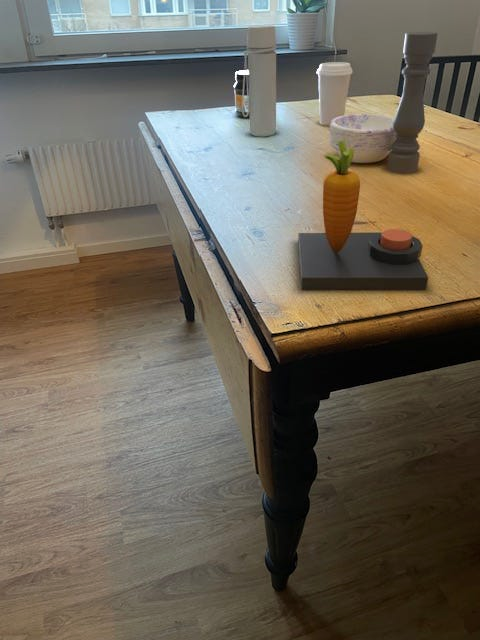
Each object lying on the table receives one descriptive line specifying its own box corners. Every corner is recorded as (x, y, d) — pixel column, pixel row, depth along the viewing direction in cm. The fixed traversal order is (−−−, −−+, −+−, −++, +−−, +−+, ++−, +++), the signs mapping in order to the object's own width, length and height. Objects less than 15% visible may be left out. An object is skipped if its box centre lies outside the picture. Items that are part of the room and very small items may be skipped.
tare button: (406, 238, 70) (408, 228, 70) (413, 251, 67) (415, 240, 66) (377, 239, 71) (379, 228, 70) (382, 251, 67) (384, 241, 67)
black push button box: (406, 243, 76) (410, 221, 74) (429, 290, 65) (434, 266, 63) (297, 244, 77) (298, 222, 75) (301, 290, 66) (302, 266, 64)
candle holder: (399, 163, 109) (418, 31, 95) (423, 169, 105) (446, 32, 91) (380, 169, 106) (396, 33, 92) (404, 176, 102) (425, 35, 88)
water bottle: (271, 129, 138) (271, 24, 124) (280, 136, 132) (281, 26, 118) (239, 132, 136) (235, 26, 122) (247, 139, 130) (243, 28, 116)
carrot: (347, 263, 67) (357, 150, 59) (312, 256, 69) (318, 146, 61) (358, 249, 71) (370, 140, 63) (325, 242, 73) (332, 136, 65)
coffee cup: (311, 126, 139) (313, 66, 131) (317, 118, 147) (320, 61, 138) (345, 127, 137) (350, 66, 128) (350, 119, 144) (355, 61, 136)
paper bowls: (379, 172, 104) (384, 132, 100) (316, 161, 112) (317, 124, 108) (407, 154, 114) (413, 117, 110) (347, 145, 122) (350, 110, 118)
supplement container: (249, 120, 148) (247, 76, 141) (228, 115, 155) (226, 72, 149) (276, 114, 153) (276, 71, 146) (255, 109, 160) (254, 68, 154)
